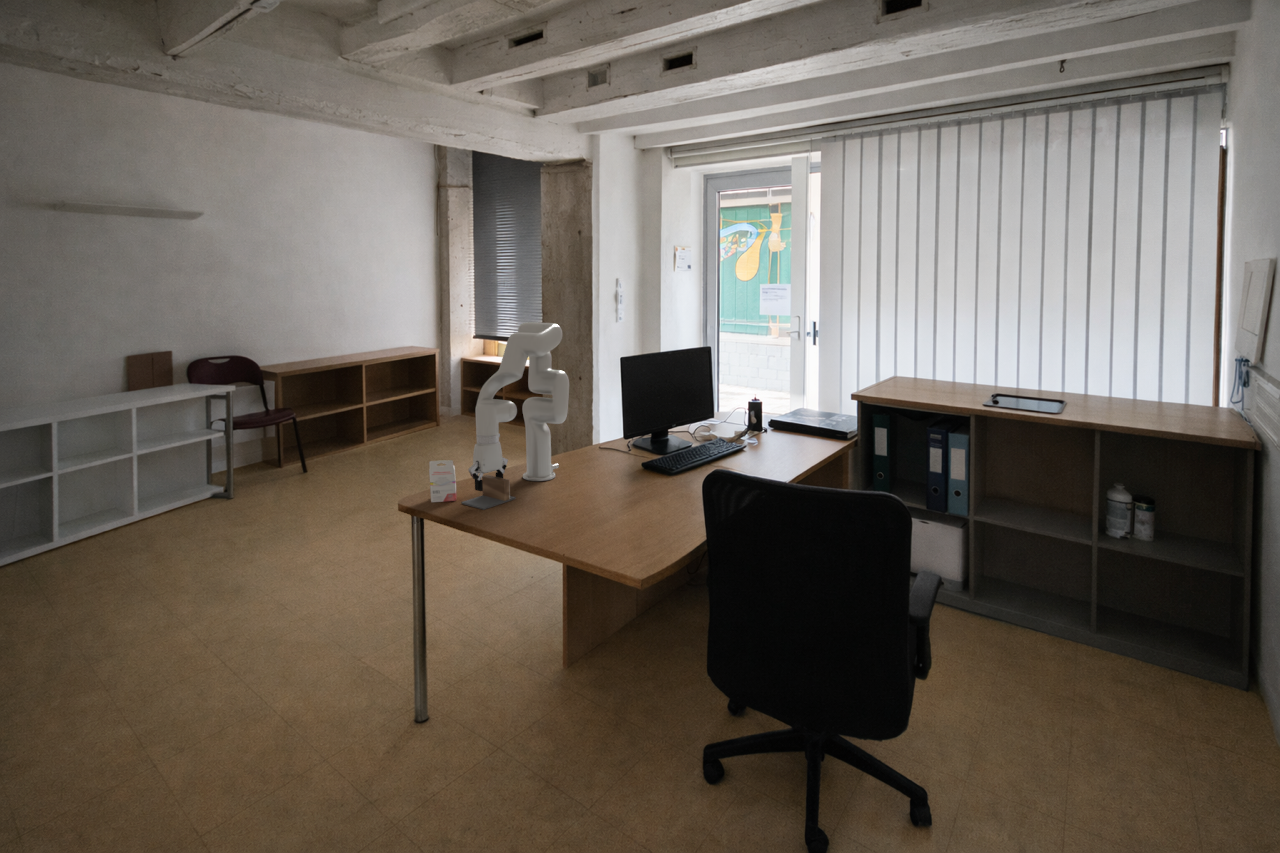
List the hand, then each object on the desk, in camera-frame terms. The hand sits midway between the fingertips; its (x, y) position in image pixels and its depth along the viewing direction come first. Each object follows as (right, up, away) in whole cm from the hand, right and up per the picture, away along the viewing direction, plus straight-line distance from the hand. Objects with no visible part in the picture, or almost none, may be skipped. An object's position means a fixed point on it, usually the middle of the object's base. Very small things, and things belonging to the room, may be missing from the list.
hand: (489, 487), depth 245 cm
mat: (0, -5, +1) cm, 5 cm away
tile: (+2, -4, +3) cm, 5 cm away
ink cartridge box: (-16, -5, +2) cm, 17 cm away
